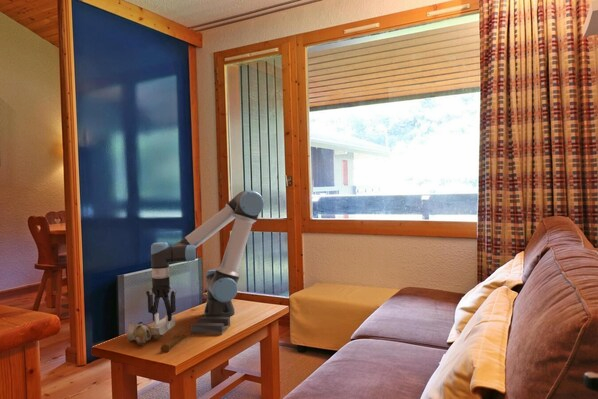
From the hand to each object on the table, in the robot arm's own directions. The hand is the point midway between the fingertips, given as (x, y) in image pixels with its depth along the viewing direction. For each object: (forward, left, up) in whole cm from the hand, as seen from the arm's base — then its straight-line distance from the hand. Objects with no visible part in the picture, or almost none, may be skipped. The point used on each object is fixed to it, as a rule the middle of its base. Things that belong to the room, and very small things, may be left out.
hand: (162, 328), depth 185 cm
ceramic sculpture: (+13, -3, -2) cm, 14 cm away
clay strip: (0, 0, -1) cm, 1 cm away
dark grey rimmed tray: (-2, +22, -1) cm, 22 cm away
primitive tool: (+15, +12, -2) cm, 19 cm away
